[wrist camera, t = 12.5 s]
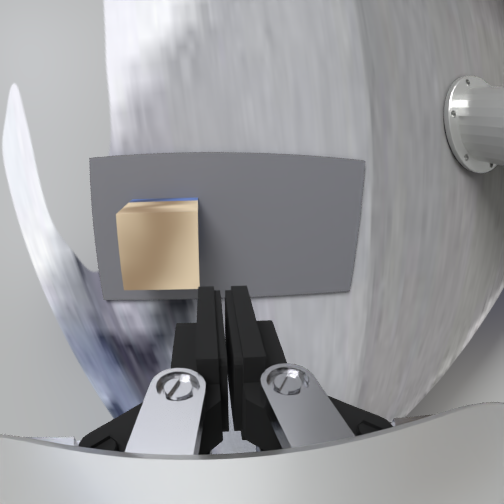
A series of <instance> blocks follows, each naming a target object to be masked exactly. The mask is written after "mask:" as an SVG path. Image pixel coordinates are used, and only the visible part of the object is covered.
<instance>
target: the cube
mask: <svg viewBox="0 0 504 504" xmlns="http://www.w3.org/2000/svg"><path fill="white" fill-rule="evenodd" d="M116 223H117V235H118V245H119V255H120V264H121V272H122V280H123V287H124V290H172V289H198V287H200V280H199V236H198V198H159V199H133V200H131V201H130V202H129V203H128V204H127V205H125V206H124V207H123V208H122V209H121V210H120V211H119V212H118V213H117V214H116Z"/></svg>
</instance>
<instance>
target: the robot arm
mask: <svg viewBox="0 0 504 504" xmlns="http://www.w3.org/2000/svg"><path fill="white" fill-rule="evenodd" d="M444 123H445V130H446V135H447V139H448V142H449V145H450V147H451V149H452V152H453V154H454V155H455V157H456V158H457V160H458V161H459V162H460V164H461V165H462V166H463V167H465V168H466V169H468V170H470V171H472V172H476V173H487V172H489V171H491V170H492V169H493V168H495V167H496V165H502V166H504V86H499V87H491V86H490V85H489V84H488V83H487V82H486V81H484V80H483V79H481V78H479V77H476V76H463V77H460V78H458V79H457V80H456V81H455V82H453V83H452V85H451V87H450V88H449V90H448V93H447V96H446V100H445V105H444ZM225 343H226V344H225ZM227 373H228V377H227ZM228 382H229V391H230V400H231V408H232V416H233V425H234V431H241V435H242V440H247V441H249V442H251V443H252V444H254V445H256V452H249V453H235V454H213V455H212V449H213V448H214V447H216V446H217V445H218V444H219V443H220V442H222V441H223V433H222V432H225V431H229V417H228ZM0 504H504V403H500V402H490V403H479V404H472V405H467V406H463V407H459V408H455V409H451V410H448V411H445V412H442V413H438V414H434V415H425V416H416V417H405V418H394V419H393V421H392V422H388V421H387V420H386V419H384V418H382V417H380V416H378V415H375V414H372V413H370V412H367V411H364V410H362V409H359V408H357V407H354V406H352V405H349V404H347V403H344V402H342V401H339V400H337V399H335V398H332V397H330V396H327V394H326V393H325V391H324V390H323V389H322V387H321V386H320V384H319V383H318V381H317V380H316V378H315V377H314V375H313V374H312V373H311V372H310V371H309V370H308V369H306V368H304V367H302V366H299V365H296V364H290V363H287V362H286V359H285V356H284V353H283V350H282V347H281V345H280V342H279V339H278V336H277V333H276V330H275V328H274V325H273V322H272V321H271V320H268V321H256V318H255V314H254V310H253V307H252V303H251V299H250V295H249V292H248V288H247V285H246V286H231V290H225V334H224V325H223V314H222V304H221V294H220V290H214V286H203V287H198V305H197V323H177V324H176V330H175V338H174V345H173V354H172V362H171V369H167V370H165V371H163V372H160V373H159V374H158V375H156V376H155V377H154V378H153V380H152V381H151V383H150V386H149V388H148V391H147V394H146V396H145V399H144V401H143V402H142V403H141V404H139V405H137V406H136V407H134V408H132V409H130V410H129V411H127V412H125V413H124V414H122V415H120V416H119V417H117V418H115V419H113V420H112V421H110V422H108V423H106V424H105V425H103V426H101V427H99V428H97V429H96V430H94V431H92V432H90V433H89V434H87V435H86V436H85V437H83V439H82V440H75V438H74V437H20V436H12V435H2V434H0Z"/></svg>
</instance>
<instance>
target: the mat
mask: <svg viewBox="0 0 504 504" xmlns="http://www.w3.org/2000/svg"><path fill="white" fill-rule="evenodd" d="M364 172H365V161H363V160H354V159H344V158H333V157H321V156H307V155H290V154H269V153H232V152H194V153H157V154H136V155H120V156H107V157H95V158H90V185H91V201H92V215H93V226H94V235H95V245H96V253H97V261H98V268H99V275H100V281H101V288H102V293H103V299H104V300H167V299H198V289H172V290H124V287H123V280H122V272H121V264H120V255H119V245H118V235H117V223H116V214H117V213H118V212H119V211H120V210H121V209H122V208H123V207H124V206H125V205H127V204H128V203H129V202H130V201H131V200H133V199H159V198H198V236H199V280H200V287H203V286H214V290H220V294H221V298H225V290H231V286H246V285H247V288H248V292H249V295H250V297H260V296H280V295H298V294H314V293H328V292H342V291H350V286H351V280H352V274H353V267H354V261H355V254H356V246H357V239H358V231H359V223H360V214H361V205H362V195H363V184H364Z"/></svg>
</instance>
